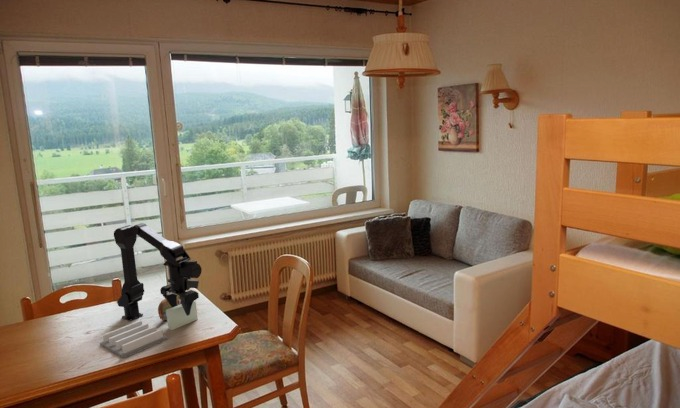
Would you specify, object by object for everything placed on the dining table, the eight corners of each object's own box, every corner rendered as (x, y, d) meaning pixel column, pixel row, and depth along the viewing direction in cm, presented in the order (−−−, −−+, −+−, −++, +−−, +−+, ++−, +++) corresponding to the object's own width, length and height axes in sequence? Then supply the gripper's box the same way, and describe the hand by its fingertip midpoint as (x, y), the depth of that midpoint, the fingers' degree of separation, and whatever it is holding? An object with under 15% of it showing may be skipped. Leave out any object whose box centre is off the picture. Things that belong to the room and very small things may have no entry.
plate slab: (168, 328, 189) (165, 310, 188) (194, 318, 198) (192, 299, 197) (171, 330, 188) (169, 311, 186) (197, 319, 197) (195, 301, 195)
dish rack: (100, 345, 178) (98, 335, 178) (142, 328, 191) (141, 318, 191) (123, 358, 167) (121, 347, 166) (167, 339, 180) (165, 329, 179)
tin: (165, 323, 195) (162, 304, 193) (158, 323, 195) (155, 304, 194) (183, 308, 209) (181, 290, 207) (177, 308, 210) (175, 290, 208)
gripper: (208, 274, 190) (212, 310, 192) (181, 266, 201) (186, 301, 204) (183, 282, 181) (188, 320, 184) (157, 274, 193) (162, 310, 196)
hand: (181, 312), depth 192 cm, fingers open, 9 cm apart
